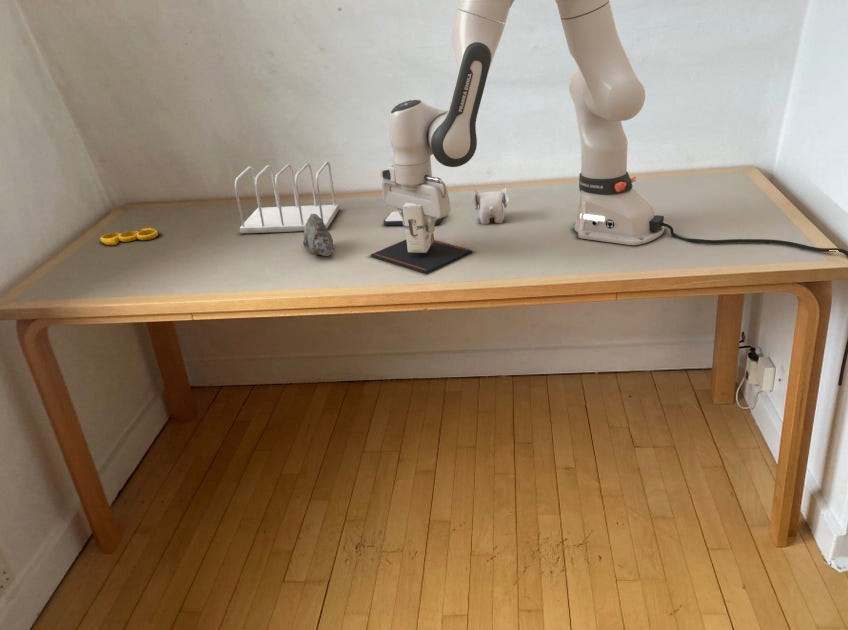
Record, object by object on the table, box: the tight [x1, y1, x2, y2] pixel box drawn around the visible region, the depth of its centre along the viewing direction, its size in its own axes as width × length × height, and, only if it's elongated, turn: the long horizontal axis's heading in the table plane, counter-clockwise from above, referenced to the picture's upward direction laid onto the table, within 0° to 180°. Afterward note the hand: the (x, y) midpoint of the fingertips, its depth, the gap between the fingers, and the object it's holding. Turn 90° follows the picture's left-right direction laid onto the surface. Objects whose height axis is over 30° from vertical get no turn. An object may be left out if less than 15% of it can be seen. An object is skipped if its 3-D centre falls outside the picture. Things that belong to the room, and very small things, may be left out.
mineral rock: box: [302, 214, 335, 257], centre depth 198 cm, size 13×11×10 cm
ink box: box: [403, 203, 435, 253], centre depth 189 cm, size 9×5×12 cm, turn 166°
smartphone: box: [383, 211, 444, 227], centre depth 216 cm, size 9×2×16 cm
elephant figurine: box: [472, 186, 510, 225], centre depth 209 cm, size 10×12×9 cm
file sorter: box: [234, 160, 340, 234], centre depth 220 cm, size 25×17×16 cm
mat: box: [370, 239, 473, 275], centre depth 193 cm, size 20×16×1 cm
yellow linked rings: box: [99, 227, 159, 246], centre depth 223 cm, size 17×2×10 cm
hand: (418, 228), depth 190 cm, fingers closed on ink box, 7 cm apart
